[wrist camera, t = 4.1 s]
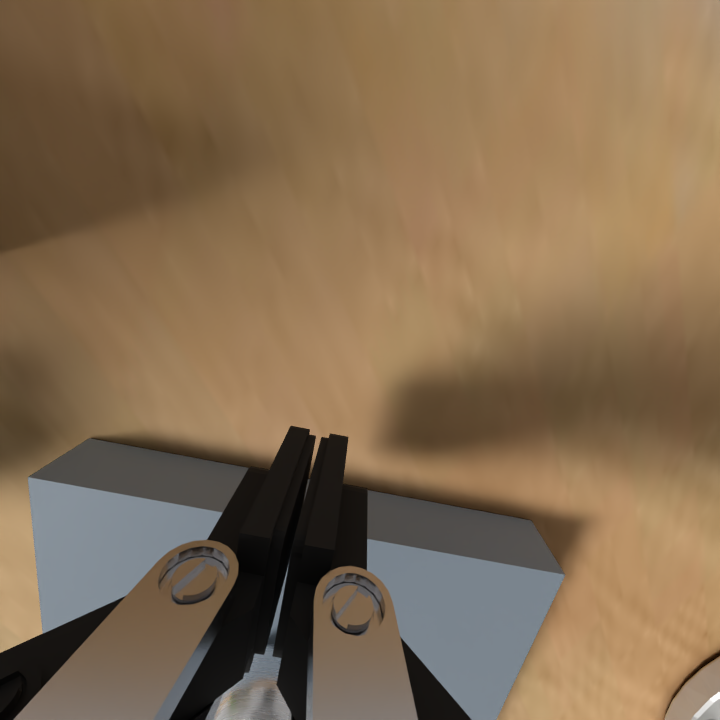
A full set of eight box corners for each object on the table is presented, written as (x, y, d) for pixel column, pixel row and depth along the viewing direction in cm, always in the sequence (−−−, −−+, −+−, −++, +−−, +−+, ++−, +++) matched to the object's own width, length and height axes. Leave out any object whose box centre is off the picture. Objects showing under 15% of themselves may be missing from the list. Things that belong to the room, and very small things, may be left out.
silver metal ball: (331, 629, 12) (317, 760, 9) (316, 691, 13) (299, 828, 10) (239, 613, 12) (192, 740, 9) (231, 676, 13) (186, 812, 10)
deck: (89, 438, 13) (27, 477, 11) (531, 520, 14) (565, 575, 11) (101, 793, 20) (64, 865, 18) (398, 839, 21) (402, 915, 18)
